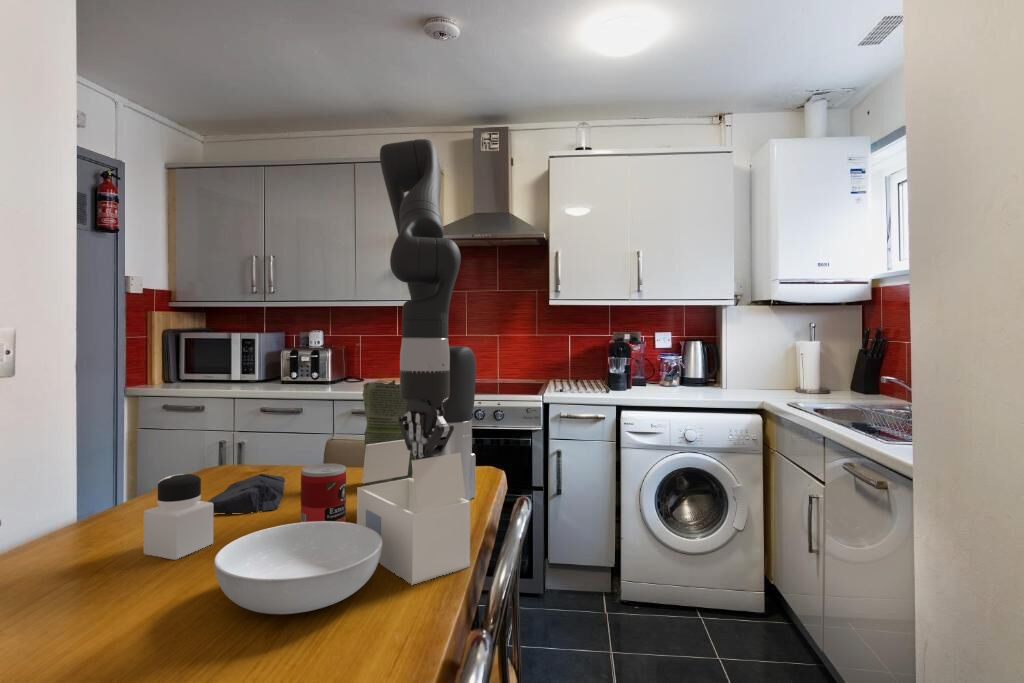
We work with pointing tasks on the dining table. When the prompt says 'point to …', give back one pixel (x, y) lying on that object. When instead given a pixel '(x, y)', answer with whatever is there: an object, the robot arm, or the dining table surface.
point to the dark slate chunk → (250, 495)
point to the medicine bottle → (178, 519)
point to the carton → (416, 530)
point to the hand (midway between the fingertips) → (424, 480)
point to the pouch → (384, 418)
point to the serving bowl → (297, 566)
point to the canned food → (323, 493)
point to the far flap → (385, 461)
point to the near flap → (438, 479)
